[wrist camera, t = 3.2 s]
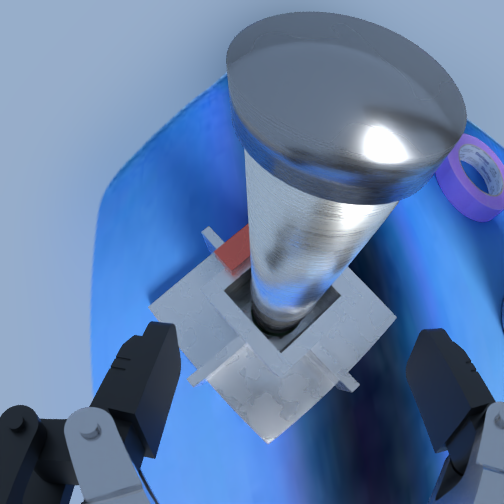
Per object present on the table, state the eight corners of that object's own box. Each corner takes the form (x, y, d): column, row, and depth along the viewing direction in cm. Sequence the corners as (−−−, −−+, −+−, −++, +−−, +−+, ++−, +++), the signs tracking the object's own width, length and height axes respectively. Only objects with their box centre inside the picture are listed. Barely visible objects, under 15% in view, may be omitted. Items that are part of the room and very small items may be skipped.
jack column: (276, 282, 27) (331, 0, 5) (308, 316, 26) (489, 99, 4) (241, 313, 26) (174, 54, 4) (273, 348, 25) (393, 218, 3)
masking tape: (489, 163, 35) (501, 149, 31) (503, 231, 31) (520, 219, 27) (428, 139, 36) (439, 122, 32) (438, 210, 32) (454, 194, 28)
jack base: (277, 201, 32) (285, 128, 21) (396, 319, 27) (461, 292, 17) (146, 309, 28) (90, 276, 18) (266, 447, 23) (272, 494, 13)
